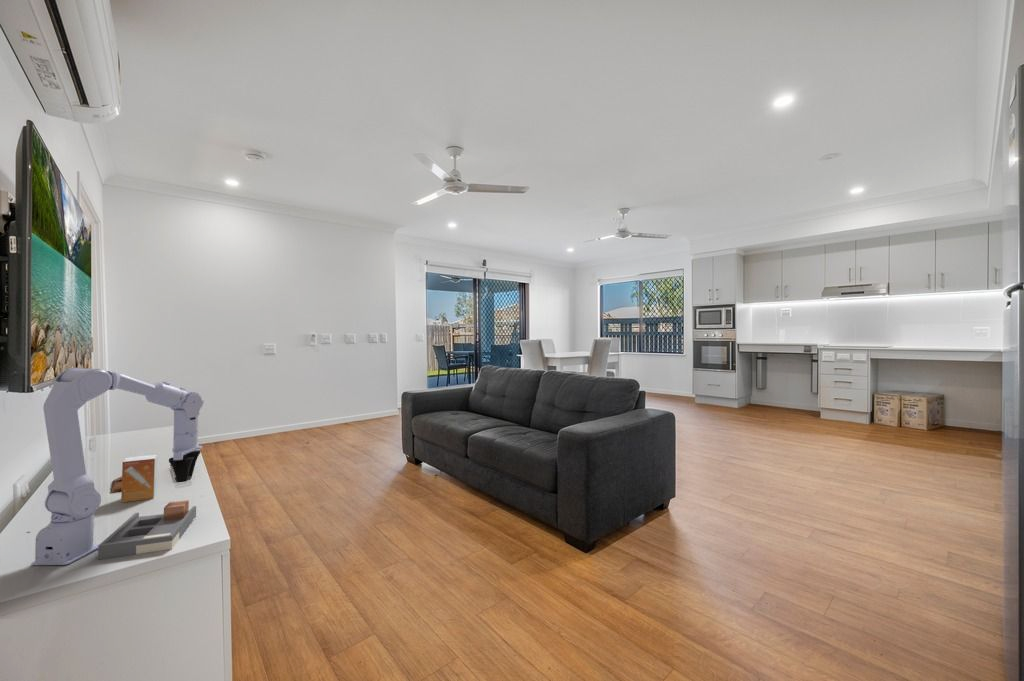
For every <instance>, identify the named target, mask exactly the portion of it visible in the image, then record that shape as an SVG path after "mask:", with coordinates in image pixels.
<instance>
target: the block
mask: <svg viewBox="0 0 1024 681" xmlns="http://www.w3.org/2000/svg"><path fill="white" fill-rule="evenodd" d="M189 508H190V501H189V500H180V501H179V500H178V501H171V502H170V501H169V502H168V503H167V504H166V505H165V506H164V507H163V514H164V521H167V520H175V519H183V518H184V517H185V515H186V514H187V513H188V512H189V511H190V510H189Z"/></svg>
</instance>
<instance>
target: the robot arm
mask: <svg viewBox="0 0 1024 681" xmlns="http://www.w3.org/2000/svg"><path fill="white" fill-rule="evenodd" d="M52 384H53V385H52V388H51V390H50V391H49V393H48V395H47V397H46V399H45V401H44V403H43V406H42V408H43V415H44V421H45V429H46V435H47V441H48V448H49V455H50V462H51V468H52V469H51V470H52V474H53V475H52V476H53V480H52V482H51V483H49V484H48V486H47V491H48V492H47V494H46V495H47V496H46V497H45V500H44V507H45V509H46V510H47V511H48V512H49V513H50V514H51V515H50V521H49V523H48V525H47V526H45V527H43V528H42V529H40V530H39V531H38V532H37V534H36V537H35V548H34V549H35V551H34V552H35V553H34V554H35V555H34V558H35V559H34V561H33V562H31V563H30V565H31V566H65V565H70V564H71V563H73V562H75V561H78V560H80V559H82V558H83V557H85V556H87V555H89V554H91V553H93V552H95V551H97V550H98V546H99V545H100V544H101V543H94V526H95V525H94V523H95V522H94V521H95V520H94V519H95V512H96V511H97V509H98V508H99V507H100V505H101V502H102V496H101V494H100V493H99V491H98V490H96V488H95V483H94V481H93V480H92V479H91V478H90V476H89V475H88V474H87V470H86V463H85V456H84V448H83V440H82V436H81V435H82V434H81V426H80V420H79V413H78V412H79V411H78V410H79V409H81V407H83V406H84V405H85V404H86V403H88V402H89V401H91V400H93V399H95V398H97V397H99V396H101V395H103V394H104V393H106V392H107V391H114V390H117V389H118V390H120V391H121V390H123V391H125V392H128V393H129V392H130V393H135V394H138V395H142V396H144V397H145V399H146V401H147V402H149V403H150V404H151V403H152V404H156V405H159V406H163V407H166V408H169V409H171V410H172V411H173V437H172V438H173V440H172V442H173V443H172V444H173V445H172V454H173V455H172V456H173V457H170V458H169V459H168V462H169V464H170V466H171V467H172V469H173V471H174V476H175V479H176V481H177V483H182V482H184V483H185V482H187V481H188V477H192V476H193V475H194V470H195V466H196V463H197V460H198V458H199V456H200V454H201V451H202V449H203V445H198V441H199V440H198V439H199V438H198V437H199V436H198V434H199V415H200V410H201V409H202V407H203V405H204V400H202V397H201V395H200V394H199V393H198V392H194V391H193V392H192V391H186V388H185V387H176V386H172V385H170V384H171V382H167V381H162V382H161V381H160V382H159V381H158V382H155V383H153V384H151V383H148V382H145V381H143V380H139V379H136V378H133V377H131V376H128V375H126V374H123V373H119V372H116V371H111V370H106V369H102V368H81V367H69V368H67V369H64V370H63V371H62V372H61V373H59V374H58V375H57V376H55V377H54V378H53V379H52Z"/></svg>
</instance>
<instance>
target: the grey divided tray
mask: <svg viewBox="0 0 1024 681" xmlns="http://www.w3.org/2000/svg"><path fill="white" fill-rule="evenodd" d="M195 517H196V518H197V506H196V505H194V506H193V505H192V507H191V508H190V510H189V512H188V513H187V514H186V515H185V517H184V518H183V519H175V520H167V521H164V513H161V514H152V515H143V516H140V512H134V514H132V515H131V516H130V517H129V518H128V519H127V520H125V521H124V522H123V523H122V524H121V525H120V526H119V527H118V528H117V529H116V530H114V531H113V532H112V533H111V534H109V536H108V537H107V538H105V539H104V540H103V541H102V542H101V543H99V544H100V545H99V546H98V549H97V560H104V559H111V558H113V559H114V558H118V557H119V558H120V557H125V556H132V555H133V556H134V555H139V554H145V553H146V554H147V553H152V552H160V551H161V552H162V551H168V550H173V549H174V547H175V546H176V544H177V543H178V541H179V540H180V539H181V537H182V536H183V535H185V533H186V532H187V530H188V529H189V527H190V526H191V525H192V523H193V522H194V521H193V519H194V518H195ZM196 518H195V519H196ZM195 519H194V520H195ZM192 521H193V522H192ZM191 522H192V523H191ZM190 524H191V525H190ZM189 525H190V526H189ZM187 528H188V529H187ZM186 529H187V530H186ZM184 532H185V533H184Z"/></svg>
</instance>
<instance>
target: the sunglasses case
mask: <svg viewBox="0 0 1024 681" xmlns="http://www.w3.org/2000/svg"><path fill="white" fill-rule="evenodd" d="M112 483H113V484H112V489H111V491H110V493H111V494H117V492H118V493H122V475H121V476H118V477H117V478H115V479H114V480H112Z"/></svg>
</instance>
